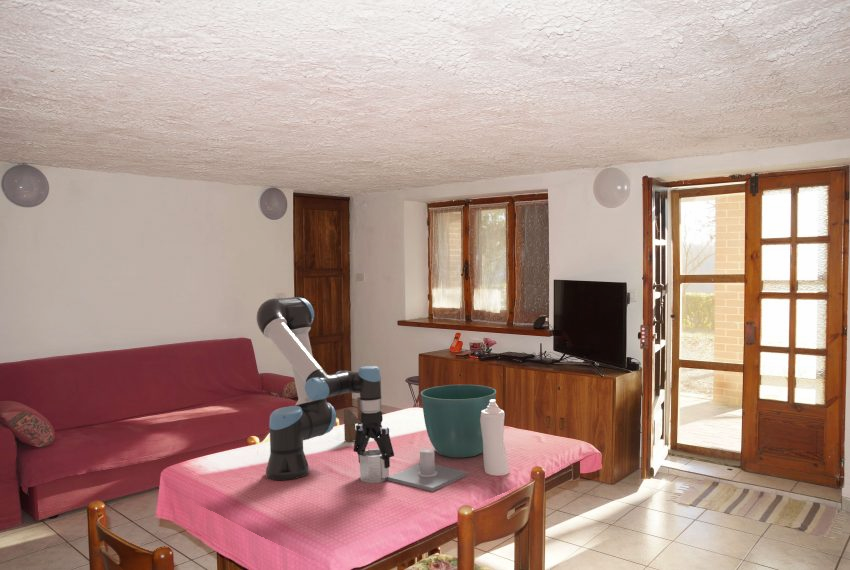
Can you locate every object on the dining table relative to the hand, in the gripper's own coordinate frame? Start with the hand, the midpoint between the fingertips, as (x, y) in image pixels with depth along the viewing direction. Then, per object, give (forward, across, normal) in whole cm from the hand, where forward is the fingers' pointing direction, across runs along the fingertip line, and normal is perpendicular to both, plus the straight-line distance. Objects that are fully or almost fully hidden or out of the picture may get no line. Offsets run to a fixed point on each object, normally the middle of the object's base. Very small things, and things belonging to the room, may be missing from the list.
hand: (374, 474), depth 214 cm
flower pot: (+2, -6, -43) cm, 43 cm away
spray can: (+2, -30, -31) cm, 43 cm away
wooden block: (0, +43, -34) cm, 55 cm away
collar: (+1, 0, 0) cm, 1 cm away
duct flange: (+2, -15, -11) cm, 19 cm away
